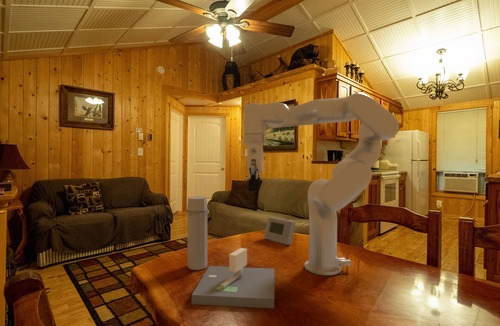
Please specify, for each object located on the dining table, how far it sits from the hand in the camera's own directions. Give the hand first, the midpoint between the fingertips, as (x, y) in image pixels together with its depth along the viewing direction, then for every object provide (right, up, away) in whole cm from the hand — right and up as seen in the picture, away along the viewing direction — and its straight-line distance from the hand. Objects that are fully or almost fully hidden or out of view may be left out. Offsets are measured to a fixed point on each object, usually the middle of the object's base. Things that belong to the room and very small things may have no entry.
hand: (254, 189), depth 97 cm
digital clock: (+12, -28, +34) cm, 46 cm away
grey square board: (-5, -29, -13) cm, 32 cm away
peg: (-6, -26, -14) cm, 30 cm away
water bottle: (-20, -28, +2) cm, 35 cm away
